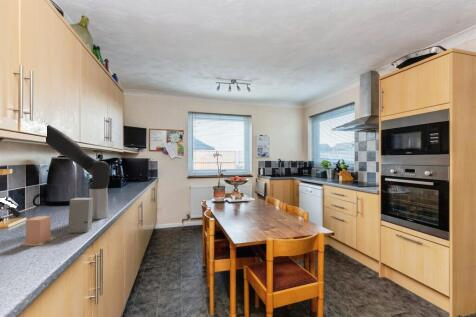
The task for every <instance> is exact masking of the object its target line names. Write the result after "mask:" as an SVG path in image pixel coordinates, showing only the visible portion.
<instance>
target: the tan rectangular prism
mask: <svg viewBox="0 0 476 317" xmlns="http://www.w3.org/2000/svg"><path fill="white" fill-rule="evenodd" d="M51 218H52V217H51V215H50V216H47V215H46V216H45V215H43V216H42V215H41V216H35V217H34V216H33V217H30V218H28V219H26V220H25V242H26V243H42V242H44V241H46V240H48V239H50V238H51V237H52V236H51V234H52V233H51V232H52V230H51V227H52V226H51V223H52V222H51Z"/></svg>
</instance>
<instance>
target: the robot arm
mask: <svg viewBox="0 0 476 317" xmlns="http://www.w3.org/2000/svg"><path fill="white" fill-rule="evenodd" d="M3 140H5V138H0V142H2V141H3ZM44 143H45V144H47V145H48V146H49V147H50V148H52V149H53V150H54V151H56V152H57V153H59V154H60V155H62V156H63V157H65V158H66V159H69V160H70V161H72V162H74V163H75V164H77V165H78V166H80V167H81V168H82V169H83V170H85V171H86V173H88V174H89V175H90V176H91V182H90V183H89V186H88V187H89V189H88V191H89V193H88V196H89V197H88V198H93V210H92V220H101V219H105V218H108V214H109V212H108V208H109V207H108V206H109V204H108V202H109V201H108V200H109V196H108V186H109V183H110V166H109V164H108V163H107V162H106V161H103V160H96V159H95V158H94V157H92V156H90V155H89V154H88V153H86V151H85V150H84V149H83V148H82V147H81V145H79V144H78V142H76V141H75V140H74V139H73V138H71V137H70V136H69V135H67V134H66V133H64V132H62V131H60V130H59V129H57V128H56V127H53V126H52V125H50V124H49V125H48V126H47V137H46V142H44ZM18 206H19V204H18V202H16V201H14V200H13V198H11V197H10V196H6V197H5V198H2V197H1V196H0V210H2V211H7V212H10V213H11V215H13V216H14V217H15V218H19V217H21V216H22V213H21V211H19V209H18V208H17V207H18ZM3 220H4V219H3V217H1V216H0V223H2V222H3Z"/></svg>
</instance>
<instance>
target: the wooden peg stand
mask: <svg viewBox="0 0 476 317" xmlns="http://www.w3.org/2000/svg"><path fill="white" fill-rule="evenodd" d="M55 239H56V237H55V236H51V238H50V239H48V240H46V241H44V242H42V243H26V241H25V242H22V243H21V244H20V247H21V246H24V247H25V246H43V245H45V244H48V243H49V242H51V241H54V240H55Z"/></svg>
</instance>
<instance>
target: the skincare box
mask: <svg viewBox="0 0 476 317" xmlns="http://www.w3.org/2000/svg"><path fill="white" fill-rule="evenodd" d="M68 210H69V211H68V224H67V233H68V234H80V233H88V232H89V231H90V230H92V227H93V226H92V225H93V219H92V210H93V198H89V197H74V198H71V199H70V200H69V209H68Z"/></svg>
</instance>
